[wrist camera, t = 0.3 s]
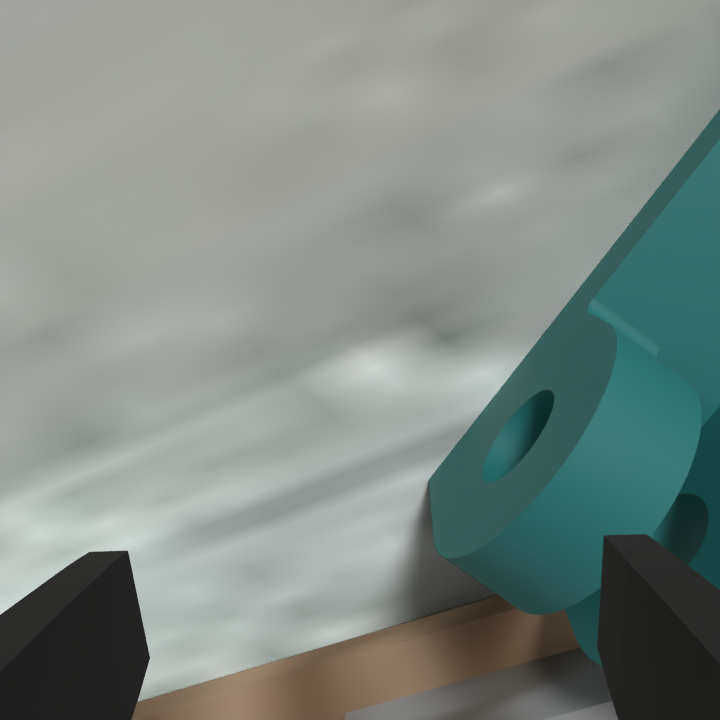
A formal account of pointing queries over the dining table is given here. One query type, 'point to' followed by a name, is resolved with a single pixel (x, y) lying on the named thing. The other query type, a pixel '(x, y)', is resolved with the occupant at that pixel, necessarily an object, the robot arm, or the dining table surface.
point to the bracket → (603, 419)
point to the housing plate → (416, 675)
